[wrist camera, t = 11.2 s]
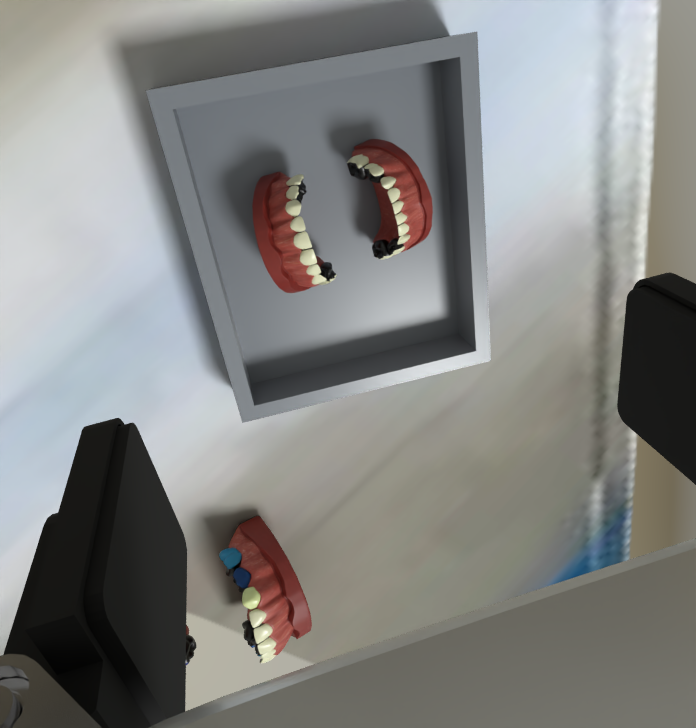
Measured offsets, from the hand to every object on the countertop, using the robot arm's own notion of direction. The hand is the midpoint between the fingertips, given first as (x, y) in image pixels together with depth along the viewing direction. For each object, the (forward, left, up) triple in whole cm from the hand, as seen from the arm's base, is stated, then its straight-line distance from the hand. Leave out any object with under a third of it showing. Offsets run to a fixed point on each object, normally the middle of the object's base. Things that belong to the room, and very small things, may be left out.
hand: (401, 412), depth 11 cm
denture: (+1, +2, -20) cm, 20 cm away
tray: (+2, +2, -20) cm, 20 cm away
